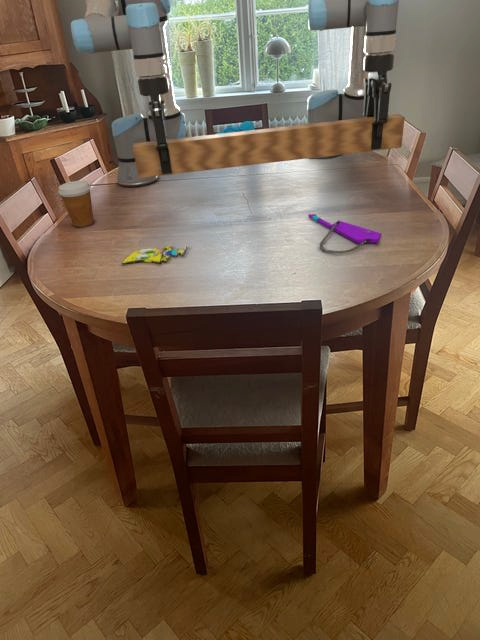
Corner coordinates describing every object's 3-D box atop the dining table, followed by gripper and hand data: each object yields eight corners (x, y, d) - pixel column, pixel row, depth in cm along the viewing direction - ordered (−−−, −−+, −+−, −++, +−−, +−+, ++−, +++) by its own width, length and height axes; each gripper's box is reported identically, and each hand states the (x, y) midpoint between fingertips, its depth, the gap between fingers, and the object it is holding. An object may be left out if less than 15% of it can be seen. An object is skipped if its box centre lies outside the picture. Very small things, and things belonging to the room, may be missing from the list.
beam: (138, 178, 131) (132, 147, 126) (139, 173, 134) (133, 143, 130) (401, 147, 136) (404, 116, 132) (395, 144, 140) (398, 113, 135)
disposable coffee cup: (61, 227, 148) (50, 189, 141) (80, 216, 155) (71, 179, 149) (86, 230, 145) (76, 191, 138) (105, 218, 152) (96, 180, 145)
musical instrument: (364, 263, 114) (392, 222, 127) (364, 255, 113) (391, 215, 125) (276, 252, 127) (309, 216, 139) (275, 245, 126) (308, 210, 138)
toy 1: (178, 260, 119) (121, 261, 122) (179, 264, 120) (122, 264, 122) (187, 243, 128) (133, 244, 130) (187, 246, 128) (134, 247, 131)
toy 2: (193, 134, 218) (255, 115, 207) (201, 157, 223) (262, 139, 212) (182, 144, 204) (248, 123, 194) (191, 168, 209) (255, 149, 199)
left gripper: (167, 79, 113) (181, 177, 126) (166, 71, 128) (179, 160, 140) (135, 82, 112) (152, 181, 125) (138, 74, 127) (153, 163, 140)
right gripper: (407, 54, 117) (397, 152, 130) (380, 50, 132) (374, 138, 145) (377, 57, 117) (371, 155, 129) (353, 52, 131) (350, 141, 144)
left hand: (167, 170), depth 133 cm, fingers closed on beam, 4 cm apart
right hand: (372, 146), depth 137 cm, fingers closed on beam, 4 cm apart
